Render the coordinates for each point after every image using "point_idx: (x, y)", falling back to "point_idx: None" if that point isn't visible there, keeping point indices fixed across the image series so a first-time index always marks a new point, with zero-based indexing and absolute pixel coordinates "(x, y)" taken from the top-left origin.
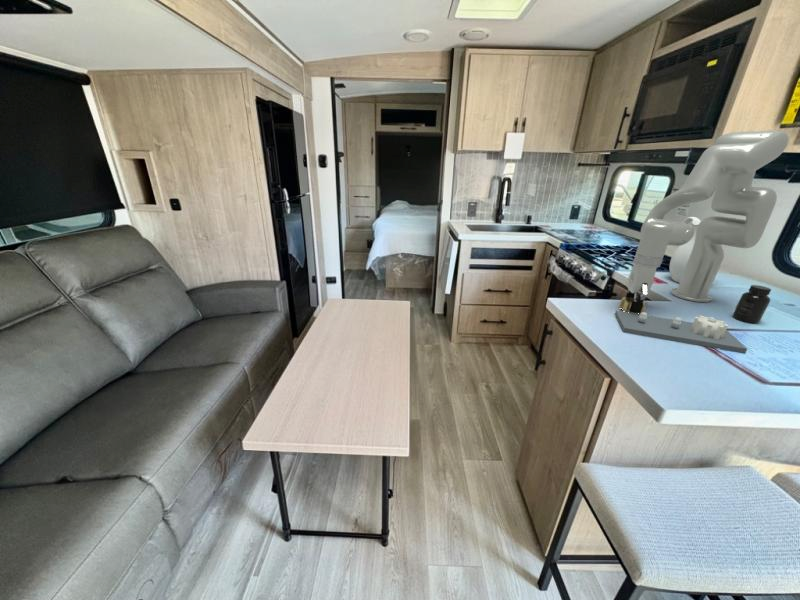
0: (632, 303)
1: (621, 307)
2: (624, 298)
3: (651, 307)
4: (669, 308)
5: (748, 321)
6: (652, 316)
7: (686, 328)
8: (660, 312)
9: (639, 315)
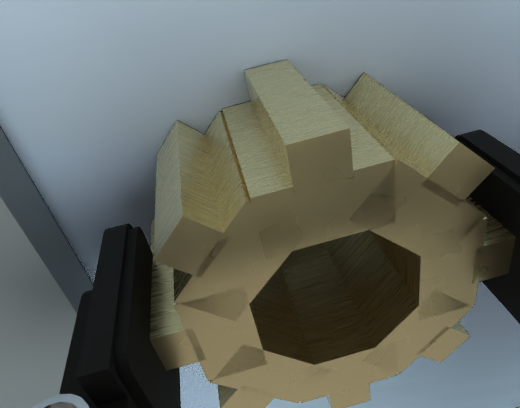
0: (88, 334)
1: (258, 106)
2: (383, 174)
3: (494, 317)
4: (515, 390)
5: None
6: None
7: None
8: None
9: (32, 330)
